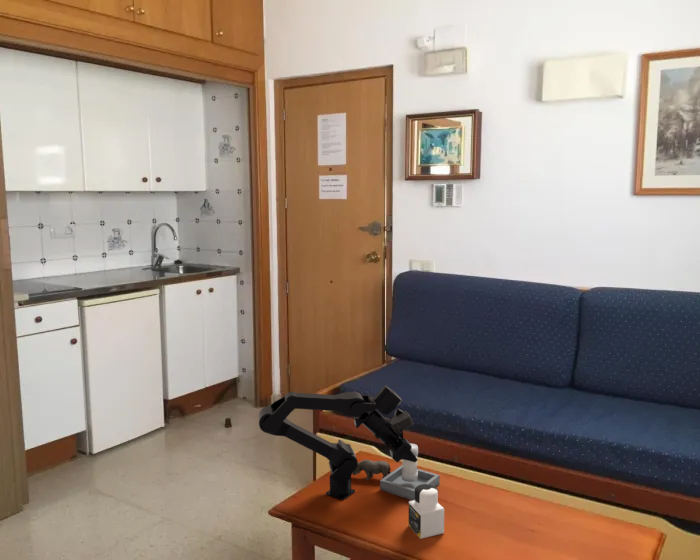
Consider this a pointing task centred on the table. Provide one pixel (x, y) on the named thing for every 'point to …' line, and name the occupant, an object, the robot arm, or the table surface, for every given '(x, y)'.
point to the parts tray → (407, 483)
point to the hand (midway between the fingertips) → (414, 457)
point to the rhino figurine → (373, 468)
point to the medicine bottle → (426, 512)
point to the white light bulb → (410, 467)
